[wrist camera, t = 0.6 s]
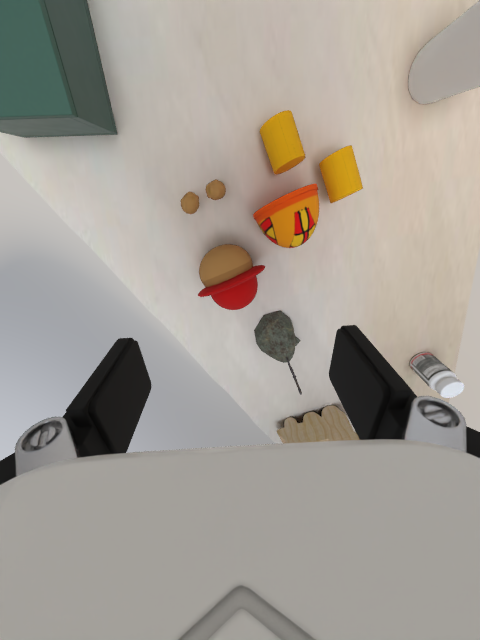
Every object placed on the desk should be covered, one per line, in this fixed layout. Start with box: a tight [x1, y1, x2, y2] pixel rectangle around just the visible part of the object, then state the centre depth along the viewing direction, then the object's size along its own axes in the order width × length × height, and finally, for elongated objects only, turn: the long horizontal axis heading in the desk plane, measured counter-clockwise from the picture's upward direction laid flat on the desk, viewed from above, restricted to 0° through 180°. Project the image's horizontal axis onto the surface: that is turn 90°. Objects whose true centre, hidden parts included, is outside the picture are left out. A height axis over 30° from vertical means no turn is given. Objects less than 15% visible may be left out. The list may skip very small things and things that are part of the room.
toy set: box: [181, 110, 363, 310], centre depth 32 cm, size 25×11×19 cm
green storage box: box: [0, 0, 117, 137], centre depth 22 cm, size 14×12×9 cm
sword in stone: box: [254, 311, 302, 395], centre depth 40 cm, size 10×8×12 cm
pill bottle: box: [410, 352, 464, 398], centre depth 46 cm, size 5×5×8 cm
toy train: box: [277, 405, 360, 444], centre depth 54 cm, size 6×17×10 cm, turn 113°
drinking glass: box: [408, 0, 480, 104], centre depth 23 cm, size 7×7×10 cm
